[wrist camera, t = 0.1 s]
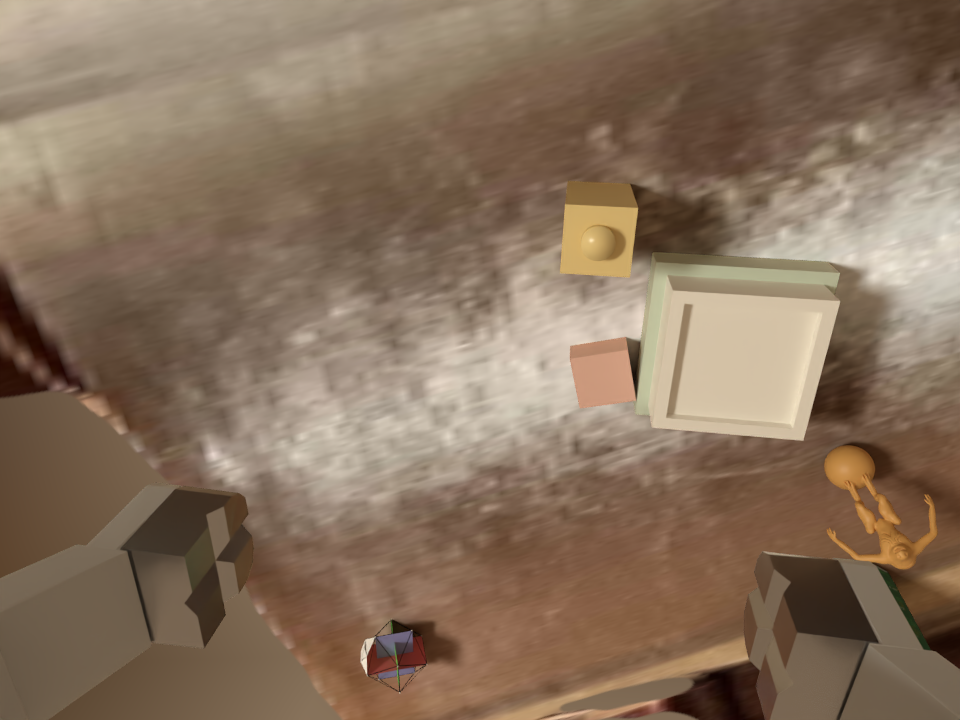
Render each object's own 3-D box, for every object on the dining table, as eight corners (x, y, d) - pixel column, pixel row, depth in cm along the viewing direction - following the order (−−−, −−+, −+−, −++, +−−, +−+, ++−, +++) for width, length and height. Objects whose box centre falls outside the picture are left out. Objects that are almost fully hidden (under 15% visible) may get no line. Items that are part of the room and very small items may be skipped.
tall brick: (567, 181, 55) (564, 206, 46) (629, 183, 54) (638, 210, 45) (563, 240, 57) (559, 276, 48) (622, 244, 56) (630, 280, 48)
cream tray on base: (652, 251, 56) (661, 276, 50) (827, 261, 55) (858, 289, 48) (632, 398, 62) (638, 436, 56) (790, 411, 61) (813, 452, 54)
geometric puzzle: (441, 631, 75) (385, 673, 70) (443, 674, 78) (388, 718, 73) (401, 597, 80) (345, 635, 75) (404, 639, 83) (350, 678, 78)
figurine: (880, 420, 60) (945, 502, 49) (903, 470, 62) (971, 561, 51) (788, 456, 62) (831, 541, 52) (813, 503, 64) (859, 595, 54)
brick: (570, 345, 61) (569, 358, 58) (625, 336, 60) (627, 349, 57) (580, 392, 63) (579, 408, 60) (633, 385, 62) (636, 400, 59)
